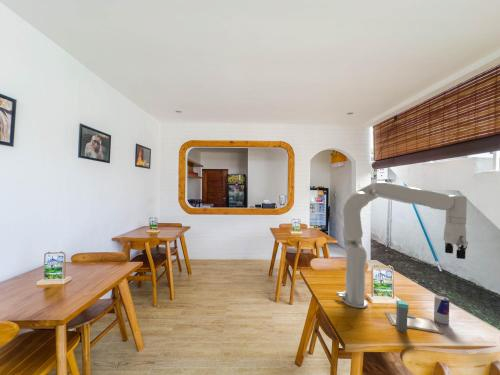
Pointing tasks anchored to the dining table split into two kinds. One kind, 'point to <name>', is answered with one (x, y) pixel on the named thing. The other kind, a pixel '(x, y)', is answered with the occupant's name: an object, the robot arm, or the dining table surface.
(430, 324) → the clipboard
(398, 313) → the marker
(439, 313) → the energy drink
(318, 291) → the dining table surface
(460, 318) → the dining table surface
